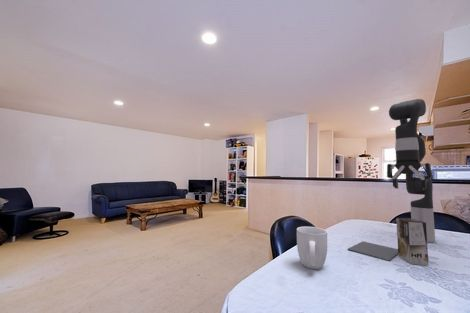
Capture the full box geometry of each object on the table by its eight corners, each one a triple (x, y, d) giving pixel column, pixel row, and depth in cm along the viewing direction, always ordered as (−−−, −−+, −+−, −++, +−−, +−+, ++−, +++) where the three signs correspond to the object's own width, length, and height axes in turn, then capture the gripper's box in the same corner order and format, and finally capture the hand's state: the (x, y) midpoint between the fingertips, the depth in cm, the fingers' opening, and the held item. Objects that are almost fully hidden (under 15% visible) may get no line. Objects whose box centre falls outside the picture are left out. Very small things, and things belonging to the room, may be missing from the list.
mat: (362, 242, 108) (362, 241, 108) (401, 251, 96) (401, 250, 96) (347, 250, 97) (347, 248, 97) (389, 261, 85) (389, 259, 85)
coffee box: (429, 265, 81) (427, 222, 82) (410, 264, 82) (408, 221, 84) (414, 256, 90) (412, 217, 91) (397, 255, 91) (395, 217, 93)
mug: (331, 279, 69) (330, 238, 71) (296, 274, 73) (295, 235, 74) (326, 261, 84) (325, 227, 85) (297, 258, 87) (296, 225, 88)
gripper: (431, 148, 85) (434, 189, 84) (389, 151, 96) (391, 187, 95) (427, 147, 81) (430, 190, 80) (383, 150, 92) (385, 188, 91)
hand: (409, 188), depth 87 cm, fingers open, 8 cm apart
